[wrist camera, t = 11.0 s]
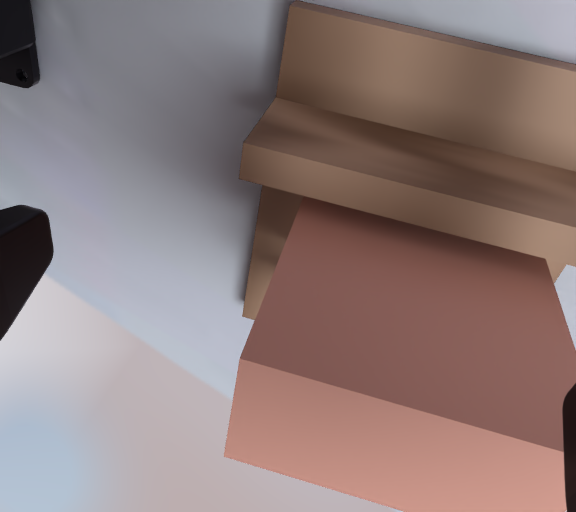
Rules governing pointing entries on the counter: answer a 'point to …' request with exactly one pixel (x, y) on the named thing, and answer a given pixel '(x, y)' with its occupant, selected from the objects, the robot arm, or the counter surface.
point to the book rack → (414, 138)
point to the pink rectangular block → (406, 368)
